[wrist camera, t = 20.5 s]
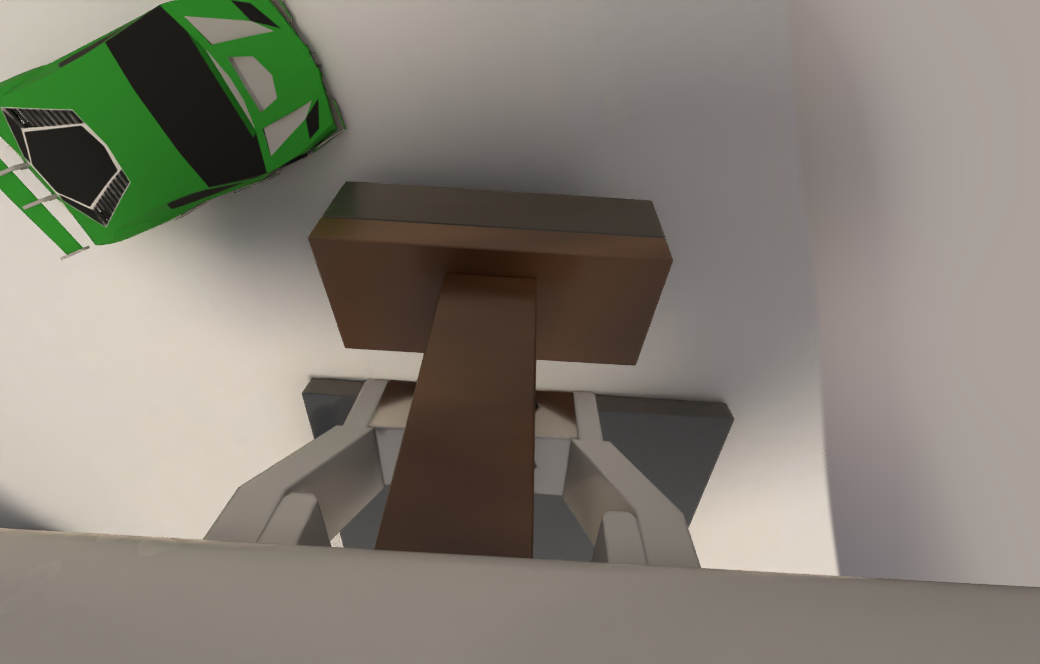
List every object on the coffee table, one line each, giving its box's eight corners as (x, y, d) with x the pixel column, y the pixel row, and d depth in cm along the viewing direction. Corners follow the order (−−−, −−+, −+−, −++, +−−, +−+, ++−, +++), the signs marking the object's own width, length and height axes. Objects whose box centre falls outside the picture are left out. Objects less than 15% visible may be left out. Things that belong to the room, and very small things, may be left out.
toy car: (269, -41, 12) (217, -59, 10) (362, 141, 14) (335, 156, 12) (2, 104, 14) (-86, 112, 12) (122, 241, 16) (66, 268, 14)
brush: (653, 199, 13) (816, 662, 5) (623, 302, 16) (701, 701, 8) (345, 180, 13) (46, 620, 5) (371, 286, 16) (203, 674, 8)
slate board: (726, 402, 19) (735, 418, 18) (649, 596, 28) (652, 613, 27) (311, 378, 19) (301, 393, 18) (362, 579, 28) (356, 596, 27)
